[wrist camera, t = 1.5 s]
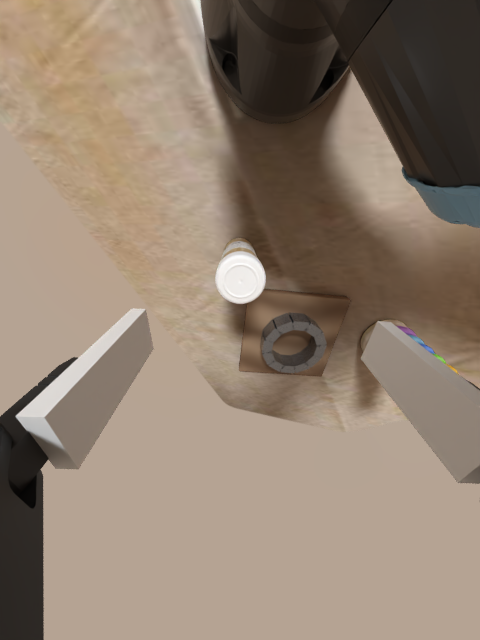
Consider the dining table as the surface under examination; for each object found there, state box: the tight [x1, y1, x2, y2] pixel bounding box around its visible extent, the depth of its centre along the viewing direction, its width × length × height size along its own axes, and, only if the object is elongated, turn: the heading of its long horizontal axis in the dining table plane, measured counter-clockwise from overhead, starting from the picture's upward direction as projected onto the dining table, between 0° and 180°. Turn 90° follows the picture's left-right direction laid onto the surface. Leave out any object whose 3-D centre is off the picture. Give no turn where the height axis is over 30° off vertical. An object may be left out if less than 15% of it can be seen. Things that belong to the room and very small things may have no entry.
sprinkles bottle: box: [215, 238, 266, 304], centre depth 24 cm, size 5×5×14 cm
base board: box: [239, 289, 351, 376], centre depth 36 cm, size 16×16×2 cm
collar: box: [260, 312, 327, 373], centre depth 34 cm, size 10×10×3 cm
